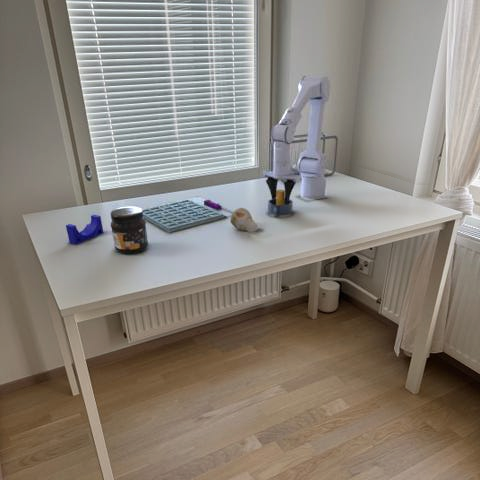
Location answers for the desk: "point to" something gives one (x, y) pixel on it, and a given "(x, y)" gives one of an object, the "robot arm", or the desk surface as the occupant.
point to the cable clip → (85, 230)
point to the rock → (243, 220)
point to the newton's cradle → (295, 167)
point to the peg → (280, 197)
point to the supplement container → (129, 230)
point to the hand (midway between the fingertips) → (280, 199)
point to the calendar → (183, 213)
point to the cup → (280, 207)
